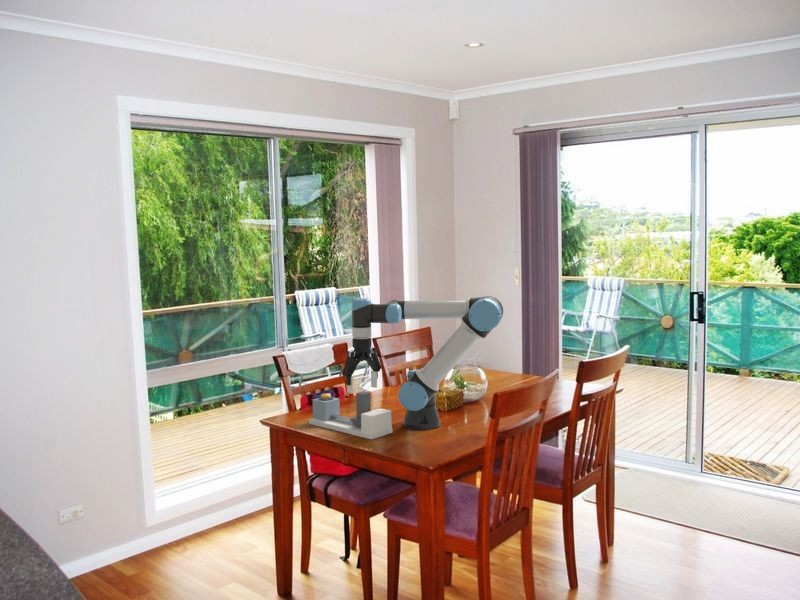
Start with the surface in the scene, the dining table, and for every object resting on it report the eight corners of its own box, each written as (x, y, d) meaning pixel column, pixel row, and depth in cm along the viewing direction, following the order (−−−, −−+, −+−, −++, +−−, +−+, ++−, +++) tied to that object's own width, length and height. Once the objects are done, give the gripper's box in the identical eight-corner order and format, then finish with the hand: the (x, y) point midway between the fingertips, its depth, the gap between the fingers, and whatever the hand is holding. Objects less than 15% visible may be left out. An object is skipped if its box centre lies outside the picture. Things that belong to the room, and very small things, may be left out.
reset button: (333, 406, 305) (333, 394, 304) (325, 407, 302) (325, 396, 301) (326, 404, 307) (326, 393, 307) (319, 406, 304) (318, 394, 304)
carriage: (377, 424, 291) (376, 392, 290) (363, 429, 285) (362, 395, 284) (364, 421, 296) (363, 389, 294) (350, 426, 290) (349, 393, 288)
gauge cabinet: (340, 417, 305) (339, 398, 305) (325, 421, 299) (325, 402, 299) (327, 414, 311) (326, 396, 310) (313, 418, 305) (312, 399, 304)
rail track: (392, 432, 289) (392, 410, 288) (371, 439, 280) (371, 416, 279) (330, 418, 312) (330, 397, 311) (309, 423, 303) (309, 402, 302)
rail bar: (372, 427, 289) (372, 422, 288) (369, 428, 287) (369, 423, 287) (334, 418, 303) (334, 414, 303) (331, 419, 302) (331, 415, 301)
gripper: (376, 333, 299) (377, 383, 301) (332, 340, 280) (333, 394, 282) (389, 334, 294) (390, 386, 296) (345, 342, 275) (346, 397, 277)
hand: (362, 390), depth 289 cm, fingers open, 13 cm apart
